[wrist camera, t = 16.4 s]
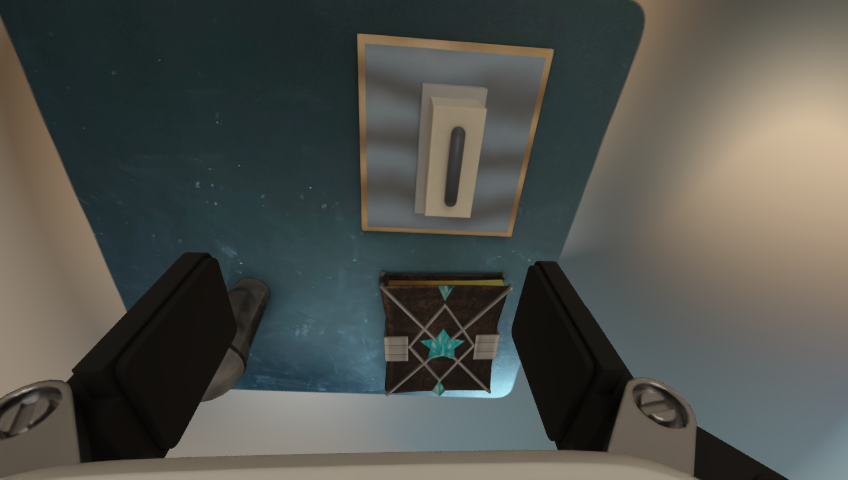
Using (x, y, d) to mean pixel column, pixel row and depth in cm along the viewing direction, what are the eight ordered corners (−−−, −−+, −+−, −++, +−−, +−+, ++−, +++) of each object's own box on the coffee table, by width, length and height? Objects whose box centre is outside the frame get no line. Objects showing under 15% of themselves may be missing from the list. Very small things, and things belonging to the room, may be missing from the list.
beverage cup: (278, 315, 49) (208, 468, 32) (224, 306, 48) (120, 459, 30) (282, 275, 45) (205, 422, 28) (223, 264, 44) (105, 411, 27)
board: (359, 33, 32) (356, 33, 30) (548, 48, 33) (555, 49, 31) (363, 224, 42) (361, 231, 40) (508, 230, 43) (512, 238, 42)
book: (380, 269, 45) (377, 293, 41) (506, 268, 46) (516, 292, 42) (385, 377, 57) (383, 405, 52) (487, 375, 57) (494, 403, 53)
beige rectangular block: (422, 82, 32) (425, 93, 26) (484, 86, 33) (502, 99, 27) (414, 207, 39) (415, 240, 33) (466, 209, 39) (477, 242, 33)
